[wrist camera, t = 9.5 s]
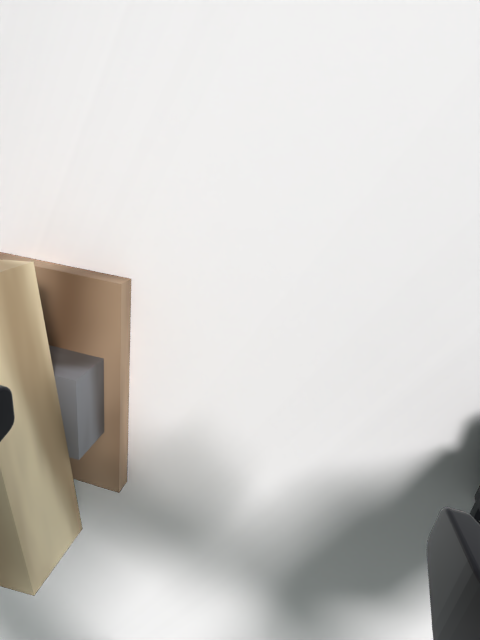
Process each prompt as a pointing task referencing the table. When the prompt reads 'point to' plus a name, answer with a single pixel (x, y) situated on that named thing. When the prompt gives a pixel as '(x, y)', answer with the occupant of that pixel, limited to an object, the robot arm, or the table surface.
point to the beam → (31, 442)
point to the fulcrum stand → (89, 365)
